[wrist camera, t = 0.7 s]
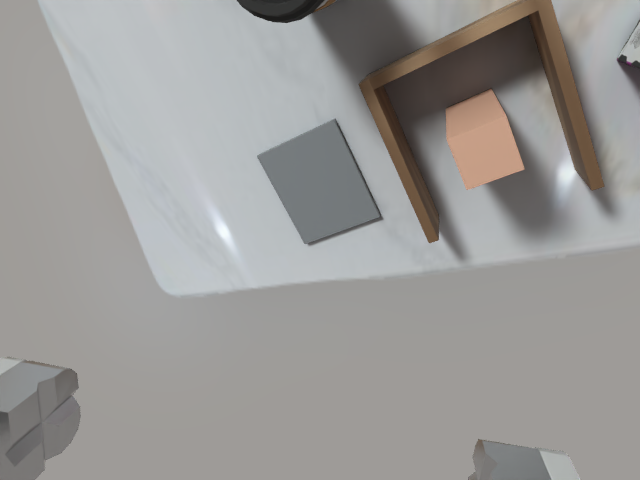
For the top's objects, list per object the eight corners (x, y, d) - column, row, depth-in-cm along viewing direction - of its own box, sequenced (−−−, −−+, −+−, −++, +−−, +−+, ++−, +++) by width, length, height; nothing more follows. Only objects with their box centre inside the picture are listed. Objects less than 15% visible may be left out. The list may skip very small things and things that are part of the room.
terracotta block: (491, 88, 44) (506, 115, 34) (506, 131, 46) (524, 169, 35) (445, 108, 46) (446, 139, 36) (461, 148, 48) (466, 190, 37)
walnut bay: (534, -9, 40) (548, -10, 35) (585, 165, 45) (604, 186, 40) (367, 75, 46) (358, 84, 41) (430, 219, 52) (429, 243, 47)
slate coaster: (335, 118, 49) (333, 119, 49) (380, 214, 53) (379, 216, 52) (258, 154, 53) (256, 156, 52) (306, 241, 57) (304, 244, 56)
